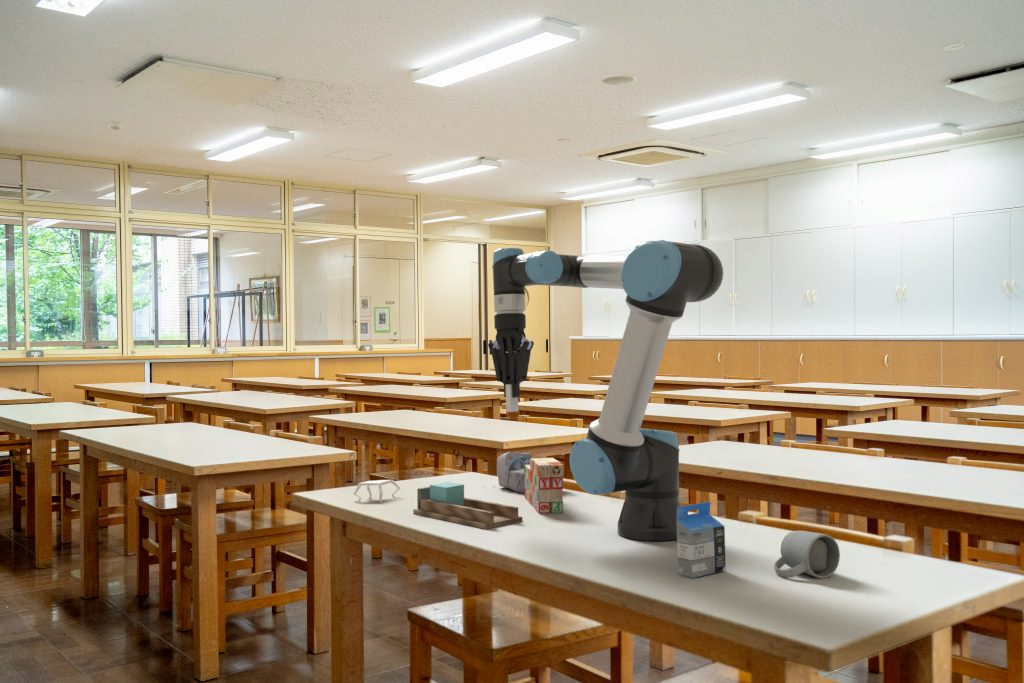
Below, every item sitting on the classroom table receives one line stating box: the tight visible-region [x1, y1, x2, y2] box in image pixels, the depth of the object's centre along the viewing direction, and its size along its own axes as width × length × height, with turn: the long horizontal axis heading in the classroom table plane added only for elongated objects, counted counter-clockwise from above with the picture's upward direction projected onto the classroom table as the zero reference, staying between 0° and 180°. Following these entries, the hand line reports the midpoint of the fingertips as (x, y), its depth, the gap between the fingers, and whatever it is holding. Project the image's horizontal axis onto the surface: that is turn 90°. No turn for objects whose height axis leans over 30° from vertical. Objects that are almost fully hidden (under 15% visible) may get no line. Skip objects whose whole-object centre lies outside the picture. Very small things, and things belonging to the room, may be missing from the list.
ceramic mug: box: [774, 530, 841, 579], centre depth 153 cm, size 11×8×8 cm
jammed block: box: [429, 481, 465, 506], centre depth 210 cm, size 6×6×6 cm
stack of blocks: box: [524, 457, 564, 515], centre depth 220 cm, size 21×6×12 cm, turn 9°
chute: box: [412, 486, 523, 530], centre depth 205 cm, size 26×12×6 cm, turn 45°
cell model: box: [496, 451, 565, 494], centre depth 243 cm, size 13×11×20 cm
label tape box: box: [676, 501, 727, 579], centre depth 154 cm, size 9×4×12 cm, turn 124°
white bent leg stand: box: [353, 479, 401, 503], centre depth 230 cm, size 12×8×5 cm
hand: (512, 411), depth 203 cm, fingers closed
